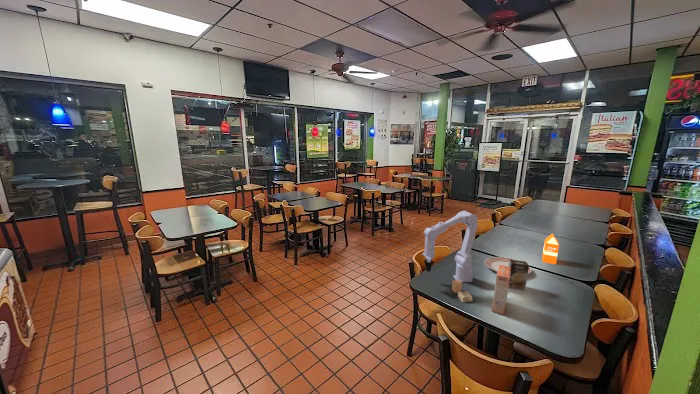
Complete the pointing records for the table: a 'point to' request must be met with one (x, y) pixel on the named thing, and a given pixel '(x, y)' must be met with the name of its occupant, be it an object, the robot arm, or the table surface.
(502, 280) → the cracker box
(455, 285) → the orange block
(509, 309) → the table surface
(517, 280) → the coffee box
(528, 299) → the table surface
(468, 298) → the beech base
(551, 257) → the orange juice
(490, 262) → the dinner plate
